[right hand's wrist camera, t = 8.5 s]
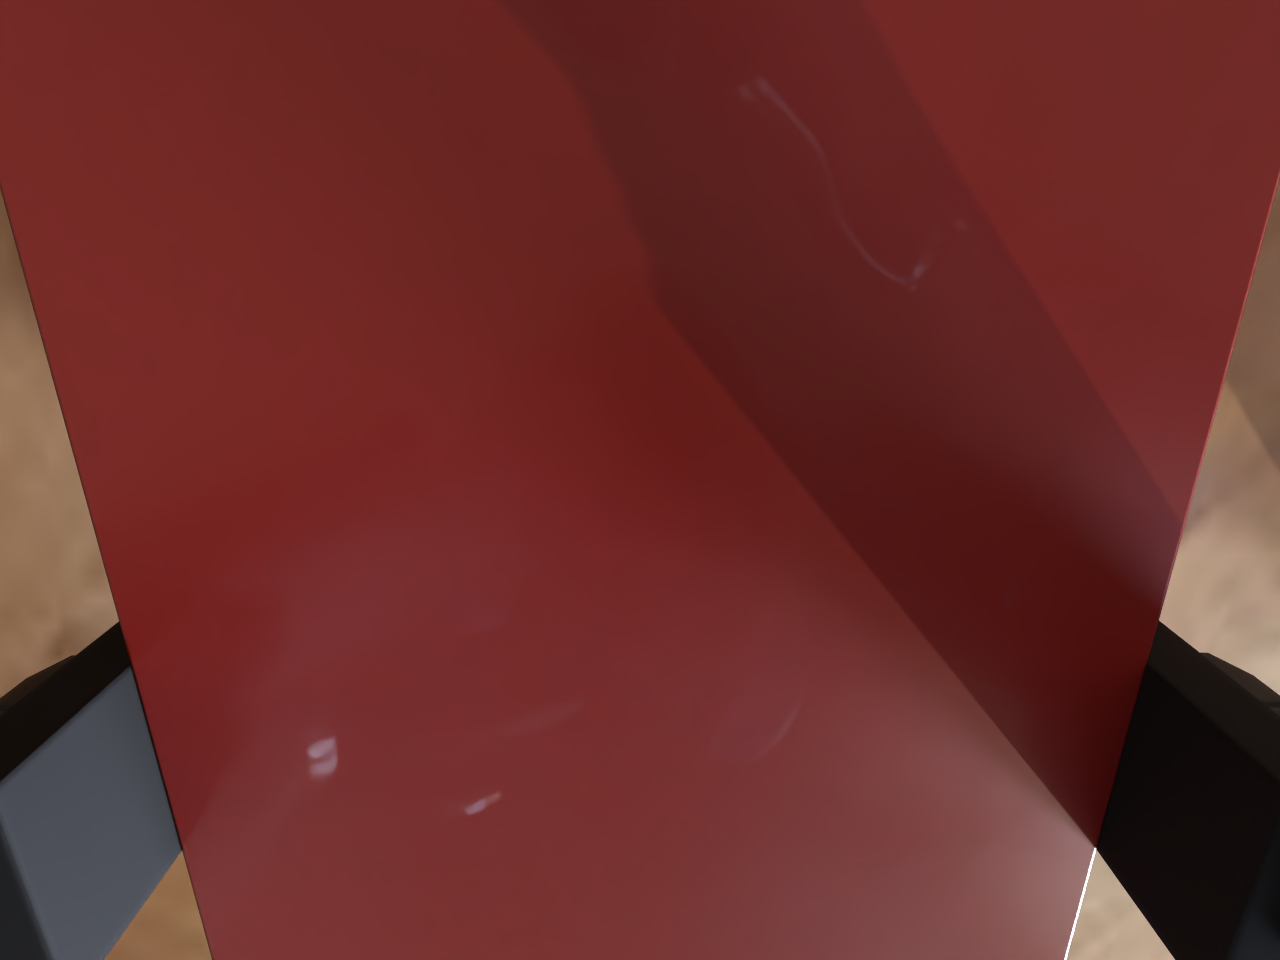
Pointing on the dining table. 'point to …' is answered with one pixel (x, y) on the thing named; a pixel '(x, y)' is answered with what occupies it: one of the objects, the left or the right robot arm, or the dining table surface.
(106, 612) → the dining table surface
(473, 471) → the cabinet
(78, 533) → the dining table surface
